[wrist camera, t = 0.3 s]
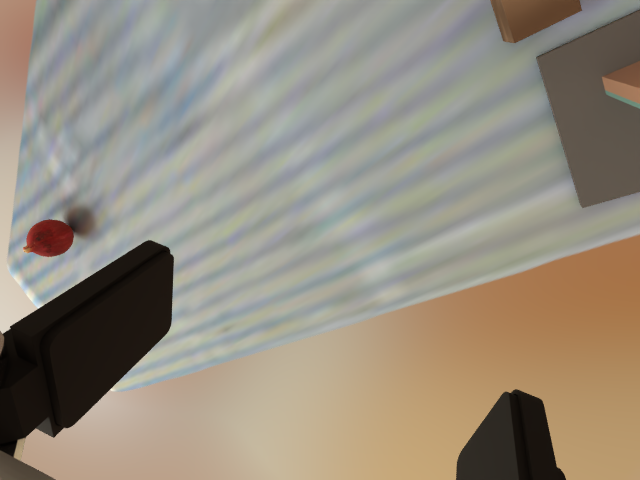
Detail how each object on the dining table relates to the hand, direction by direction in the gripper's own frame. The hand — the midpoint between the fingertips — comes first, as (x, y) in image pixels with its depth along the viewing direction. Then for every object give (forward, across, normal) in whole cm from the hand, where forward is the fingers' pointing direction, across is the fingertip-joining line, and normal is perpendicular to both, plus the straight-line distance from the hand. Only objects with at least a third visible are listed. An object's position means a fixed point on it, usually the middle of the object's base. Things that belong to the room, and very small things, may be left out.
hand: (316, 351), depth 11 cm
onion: (+35, +49, +33) cm, 69 cm away
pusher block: (+35, -4, -11) cm, 37 cm away
